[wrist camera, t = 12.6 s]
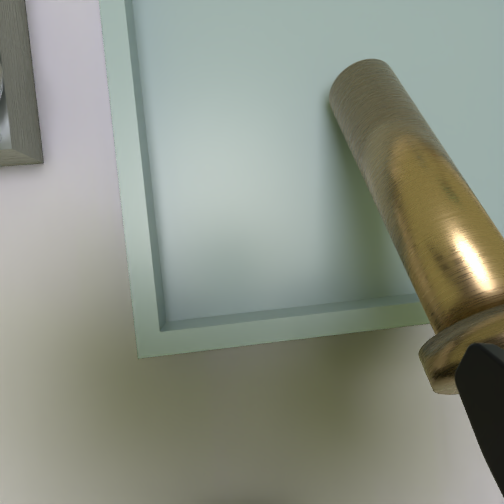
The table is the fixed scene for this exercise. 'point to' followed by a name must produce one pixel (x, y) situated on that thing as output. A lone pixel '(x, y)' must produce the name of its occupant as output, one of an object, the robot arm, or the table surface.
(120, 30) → the tray
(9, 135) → the bracket
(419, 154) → the pin
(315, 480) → the table surface
